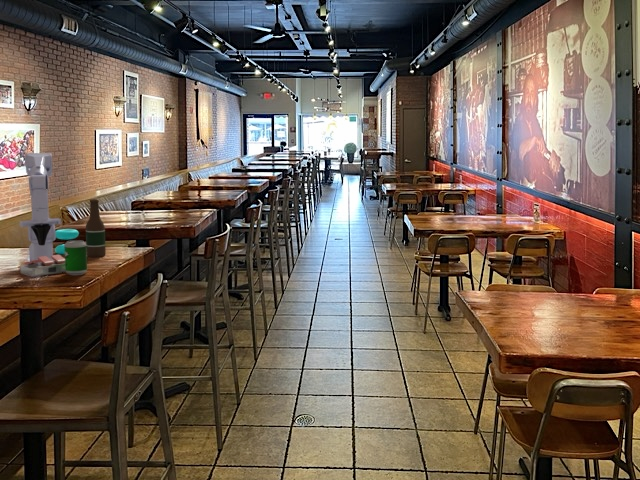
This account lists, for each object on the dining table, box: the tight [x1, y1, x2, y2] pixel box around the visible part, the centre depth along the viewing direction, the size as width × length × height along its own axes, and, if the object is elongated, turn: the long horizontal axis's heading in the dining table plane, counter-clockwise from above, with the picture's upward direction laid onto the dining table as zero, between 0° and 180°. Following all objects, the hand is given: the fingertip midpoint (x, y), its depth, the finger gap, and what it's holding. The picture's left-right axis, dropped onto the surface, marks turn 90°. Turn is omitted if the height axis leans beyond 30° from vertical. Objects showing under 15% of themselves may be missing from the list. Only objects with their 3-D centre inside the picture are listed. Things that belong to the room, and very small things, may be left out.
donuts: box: [54, 228, 80, 255], centre depth 284 cm, size 10×10×10 cm
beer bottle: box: [85, 198, 107, 258], centre depth 277 cm, size 8×8×24 cm
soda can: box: [64, 239, 88, 276], centre depth 240 cm, size 8×8×12 cm
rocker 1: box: [24, 260, 41, 265], centre depth 238 cm, size 6×3×1 cm, turn 48°
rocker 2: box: [38, 256, 54, 265], centre depth 242 cm, size 6×3×1 cm, turn 50°
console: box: [19, 260, 66, 278], centre depth 242 cm, size 9×15×4 cm, turn 139°
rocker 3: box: [51, 254, 65, 263], centre depth 246 cm, size 6×3×1 cm, turn 50°
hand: (41, 245), depth 240 cm, fingers closed
